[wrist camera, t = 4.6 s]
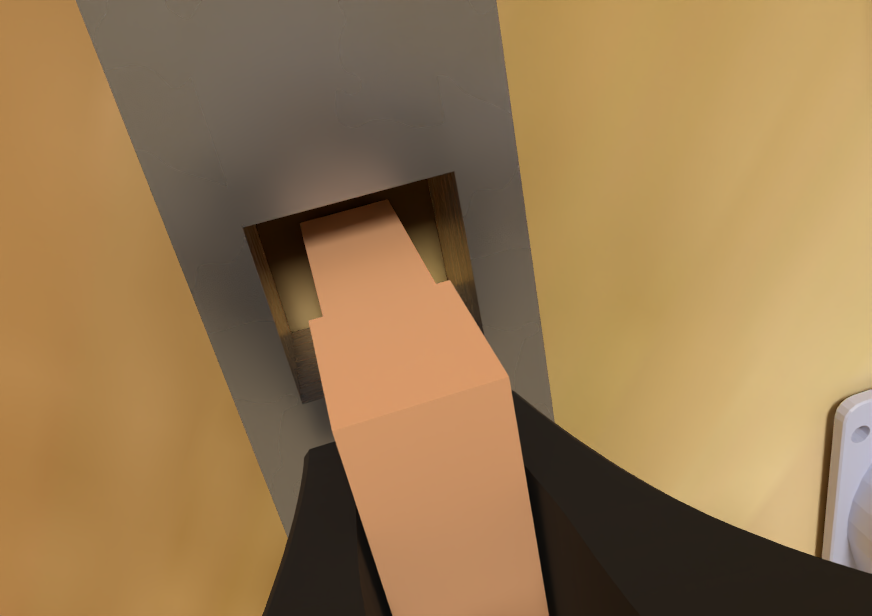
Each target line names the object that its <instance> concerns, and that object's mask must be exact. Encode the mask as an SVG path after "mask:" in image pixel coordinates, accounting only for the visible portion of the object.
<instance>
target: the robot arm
mask: <svg viewBox="0 0 872 616" xmlns="http://www.w3.org/2000/svg"><path fill="white" fill-rule="evenodd" d="M511 391H512V397H513V403H514V409H515V415H516V421H517V427H518V433H519V439H520V445H521V451H522V457H523V463H524V469H525V475H526V481H527V487H528V493H529V499H530V505H531V511H532V517H533V523H534V529H535V535H536V541H537V547H538V553H539V559H540V565H541V571H542V577H543V583H544V589H545V595H546V601H547V607H548V613H549V616H872V389H870V390H867V391H864V392H861V393H858V394H855V395H852V396H850V397H848V398H846V399H845V400H844V401H843V402H842V403H840V405H839V406H838V408H837V410H836V413H835V418H834V429H833V440H832V451H831V462H830V473H829V484H828V494H827V505H826V516H825V527H824V538H823V549H822V558H818V557H815V556H812V555H809V554H806V553H804V552H801V551H798V550H795V549H792V548H789V547H786V546H784V545H781V544H778V543H776V542H773V541H771V540H768V539H766V538H763V537H760V536H758V535H755V534H753V533H750V532H748V531H745V530H742V529H740V528H737V527H735V526H732V525H730V524H728V523H725V522H723V521H721V520H718V519H716V518H714V517H712V516H709V515H707V514H705V513H703V512H701V511H699V510H697V509H695V508H693V507H691V506H689V505H687V504H685V503H683V502H681V501H679V500H677V499H675V498H673V497H671V496H669V495H667V494H665V493H664V492H662V491H660V490H658V489H656V488H654V487H653V486H651V485H649V484H647V483H646V482H644V481H642V480H641V479H639V478H637V477H635V476H634V475H632V474H630V473H629V472H627V471H625V470H624V469H622V468H620V467H619V466H617V465H616V464H614V463H612V462H611V461H609V460H608V459H606V458H605V457H603V456H602V455H600V454H599V453H597V452H596V451H594V450H593V449H591V448H590V447H588V446H587V445H585V444H584V443H582V442H581V441H579V440H578V439H576V438H575V437H574V436H572V435H571V434H569V433H568V432H567V431H565V430H564V429H562V428H561V427H560V426H558V425H557V424H556V423H554V422H553V421H552V420H550V419H549V418H548V417H546V416H545V415H544V414H542V413H541V412H540V411H539V410H537V409H536V408H535V407H534V406H532V405H531V404H530V403H529V402H527V401H526V400H525V399H524V398H522V397H521V396H520V395H519V394H517V393H516V392H515V391H513V390H511ZM262 616H392V612H391V609H390V606H389V603H388V600H387V597H386V594H385V591H384V588H383V585H382V582H381V579H380V576H379V573H378V570H377V567H376V564H375V561H374V558H373V555H372V551H371V548H370V545H369V542H368V539H367V536H366V533H365V530H364V527H363V524H362V521H361V518H360V515H359V512H358V509H357V506H356V503H355V500H354V497H353V493H352V490H351V487H350V484H349V481H348V478H347V475H346V472H345V469H344V466H343V463H342V460H341V457H340V454H339V451H338V448H337V445H336V442H335V441H334V442H331V443H328V444H325V445H321V446H318V447H315V448H312V449H309V450H308V452H307V454H306V455H305V457H304V464H303V473H302V480H301V486H300V491H299V496H298V500H297V505H296V509H295V514H294V518H293V522H292V525H291V529H290V532H289V536H288V540H287V543H286V547H285V551H284V554H283V557H282V561H281V564H280V567H279V570H278V573H277V575H276V578H275V581H274V584H273V587H272V590H271V593H270V596H269V598H268V601H267V604H266V607H265V610H264V612H263V615H262Z"/></svg>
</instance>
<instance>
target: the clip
mask: <svg viewBox="0 0 872 616" xmlns="http://www.w3.org/2000/svg"><path fill="white" fill-rule="evenodd" d="M300 227H301V231H302V235H303V239H304V243H305V247H306V251H307V255H308V259H309V263H310V267H311V271H312V275H313V279H314V283H315V287H316V291H317V295H318V299H319V303H320V307H321V311H322V315H323V317H320V318H316V319H313V320H309V325H310V330H311V335H312V340H313V344H314V349H315V354H316V358H317V363H318V368H319V372H320V377H321V382H322V386H323V391H324V396H325V400H326V405H327V410H328V414H329V419H330V424H331V429H332V432H333V436H334V439H335V442H336V445H337V448H338V451H339V454H340V457H341V460H342V463H343V466H344V469H345V472H346V475H347V478H348V481H349V484H350V487H351V490H352V493H353V497H354V500H355V503H356V506H357V509H358V512H359V515H360V518H361V521H362V524H363V527H364V530H365V533H366V536H367V539H368V542H369V545H370V548H371V551H372V555H373V558H374V561H375V564H376V567H377V570H378V573H379V576H380V579H381V582H382V585H383V588H384V591H385V594H386V597H387V600H388V603H389V606H390V609H391V612H392V616H549V613H548V607H547V601H546V595H545V589H544V583H543V577H542V571H541V565H540V559H539V553H538V547H537V541H536V535H535V529H534V523H533V517H532V511H531V505H530V499H529V493H528V487H527V481H526V475H525V469H524V463H523V457H522V451H521V445H520V439H519V433H518V427H517V421H516V415H515V409H514V403H513V397H512V391H511V385H510V379H509V376H508V374H507V372H506V371H505V369H504V368H503V366H502V364H501V363H500V361H499V359H498V358H497V356H496V355H495V353H494V351H493V350H492V348H491V346H490V345H489V343H488V341H487V340H486V338H485V337H484V335H483V333H482V332H481V330H480V328H479V327H478V325H477V324H476V322H475V320H474V319H473V317H472V315H471V314H470V312H469V310H468V309H467V307H466V306H465V304H464V302H463V301H462V299H461V297H460V296H459V294H458V293H457V291H456V289H455V288H454V286H453V284H452V283H451V281H450V280H448V281H445V282H441V283H438V284H436V283H435V281H434V280H433V278H432V276H431V274H430V273H429V271H428V269H427V267H426V266H425V264H424V262H423V260H422V259H421V257H420V255H419V253H418V252H417V250H416V248H415V246H414V245H413V243H412V241H411V239H410V238H409V236H408V234H407V232H406V231H405V229H404V227H403V225H402V224H401V222H400V220H399V218H398V217H397V215H396V213H395V211H394V210H393V208H392V206H391V204H390V203H389V201H388V199H387V200H383V201H380V202H376V203H372V204H369V205H365V206H361V207H358V208H354V209H350V210H346V211H343V212H339V213H335V214H332V215H328V216H324V217H321V218H317V219H313V220H310V221H306V222H302V223H300Z"/></svg>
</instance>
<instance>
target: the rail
mask: <svg viewBox="0 0 872 616" xmlns="http://www.w3.org/2000/svg"><path fill="white" fill-rule="evenodd" d="M76 2H77V5H78V7H79V10H80V12H81V15H82V17H83V20H84V22H85V25H86V27H87V30H88V32H89V35H90V37H91V40H92V43H93V45H94V48H95V50H96V53H97V55H98V58H99V60H100V63H101V65H102V68H103V70H104V73H105V75H106V78H107V81H108V83H109V86H110V88H111V91H112V93H113V96H114V98H115V101H116V103H117V106H118V108H119V111H120V113H121V116H122V119H123V121H124V124H125V126H126V129H127V131H128V134H129V136H130V139H131V141H132V144H133V146H134V149H135V152H136V154H137V157H138V159H139V162H140V164H141V167H142V169H143V172H144V174H145V177H146V179H147V182H148V184H149V187H150V190H151V192H152V195H153V197H154V200H155V202H156V205H157V207H158V210H159V212H160V215H161V217H162V220H163V222H164V225H165V228H166V230H167V233H168V235H169V238H170V240H171V243H172V245H173V248H174V250H175V253H176V255H177V258H178V260H179V263H180V266H181V268H182V271H183V273H184V276H185V278H186V281H187V283H188V286H189V288H190V291H191V293H192V296H193V298H194V301H195V304H196V306H197V309H198V311H199V314H200V316H201V319H202V321H203V324H204V326H205V329H206V331H207V334H208V336H209V339H210V342H211V344H212V347H213V349H214V352H215V354H216V357H217V359H218V362H219V364H220V367H221V369H222V372H223V374H224V377H225V380H226V382H227V385H228V387H229V390H230V392H231V395H232V397H233V400H234V402H235V405H236V407H237V410H238V413H239V415H240V418H241V420H242V423H243V425H244V428H245V430H246V433H247V435H248V438H249V440H250V443H251V445H252V448H253V451H254V453H255V456H256V458H257V461H258V463H259V466H260V468H261V471H262V473H263V476H264V478H265V481H266V483H267V486H268V489H269V491H270V494H271V496H272V499H273V501H274V504H275V506H276V509H277V511H278V514H279V516H280V519H281V521H282V524H283V527H284V529H285V532H286V534H287V537H288V536H289V532H290V529H291V525H292V522H293V518H294V514H295V509H296V505H297V500H298V496H299V491H300V486H301V480H302V473H303V464H304V457H305V455H306V454H307V452H308V450H309V449H312V448H315V447H318V446H321V445H325V444H328V443H331V442H334V441H335V439H334V436H333V432H332V429H331V424H330V419H329V414H328V410H327V405H326V400H325V396H324V391H323V386H322V382H321V377H320V372H319V368H318V363H317V358H316V354H315V349H314V344H313V340H312V335H311V330H310V328H307V329H303V330H300V331H296V332H293V333H291V331H290V328H289V325H288V322H287V319H286V316H285V313H284V310H283V307H282V304H281V301H280V298H279V295H278V292H277V289H276V286H275V283H274V280H273V277H272V274H271V271H270V268H269V265H268V262H267V259H266V255H265V252H264V249H263V246H262V243H261V240H260V237H259V234H258V231H257V228H256V225H255V224H258V223H262V222H266V221H269V220H273V219H277V218H281V217H284V216H288V215H292V214H296V213H299V212H303V211H307V210H311V209H314V208H318V207H322V206H326V205H329V204H333V203H337V202H341V201H344V200H348V199H352V198H356V197H359V196H363V195H367V194H370V193H374V192H378V191H382V190H385V189H389V188H393V187H397V186H400V185H404V184H408V183H412V182H415V181H419V180H423V179H427V181H428V185H429V190H430V195H431V200H432V205H433V210H434V215H435V220H436V225H437V230H438V235H439V240H440V245H441V250H442V255H443V260H444V264H445V269H446V274H447V279H448V280H450V281H451V283H452V284H453V286H454V288H455V289H456V291H457V293H458V294H459V296H460V297H461V299H462V301H463V302H464V304H465V306H466V307H467V309H468V310H469V312H470V314H471V315H472V317H473V319H474V320H475V322H476V324H477V325H478V327H479V328H480V330H481V332H482V333H483V335H484V337H485V338H486V340H487V341H488V343H489V345H490V346H491V348H492V350H493V351H494V353H495V355H496V356H497V358H498V359H499V361H500V363H501V364H502V366H503V368H504V369H505V371H506V372H507V374H508V376H509V379H510V385H511V390H513V391H515V392H516V393H517V394H519V395H520V396H521V397H522V398H524V399H525V400H526V401H527V402H529V403H530V404H531V405H532V406H534V407H535V408H536V409H537V410H539V411H540V412H541V413H542V414H544V415H545V416H546V417H548V418H549V419H550V420H552V421H553V422H554V415H553V407H552V400H551V393H550V386H549V379H548V371H547V364H546V357H545V350H544V342H543V335H542V328H541V321H540V314H539V306H538V299H537V292H536V285H535V277H534V270H533V263H532V256H531V248H530V241H529V234H528V227H527V220H526V212H525V205H524V198H523V191H522V183H521V176H520V169H519V162H518V155H517V147H516V140H515V133H514V126H513V118H512V111H511V104H510V97H509V89H508V82H507V75H506V68H505V61H504V53H503V46H502V39H501V32H500V24H499V17H498V10H497V3H496V0H76ZM554 423H555V422H554Z"/></svg>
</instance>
